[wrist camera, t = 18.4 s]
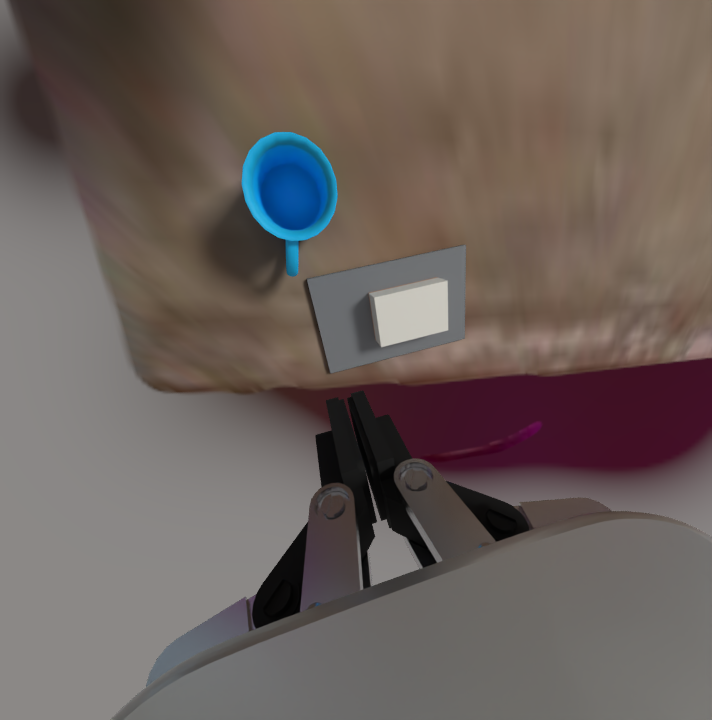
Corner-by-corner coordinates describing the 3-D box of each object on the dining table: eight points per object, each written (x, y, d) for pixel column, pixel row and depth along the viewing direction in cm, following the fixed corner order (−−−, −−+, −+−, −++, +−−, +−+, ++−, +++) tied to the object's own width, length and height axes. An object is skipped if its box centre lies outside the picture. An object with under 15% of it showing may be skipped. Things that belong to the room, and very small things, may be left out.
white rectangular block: (374, 297, 34) (447, 280, 35) (368, 292, 37) (436, 277, 38) (381, 347, 37) (448, 330, 38) (375, 339, 40) (438, 323, 41)
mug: (250, 149, 28) (237, 122, 21) (328, 161, 30) (340, 140, 23) (258, 269, 33) (249, 280, 26) (324, 273, 35) (333, 284, 28)
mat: (306, 278, 35) (307, 279, 34) (463, 244, 37) (465, 245, 37) (330, 371, 41) (330, 373, 41) (462, 337, 44) (464, 338, 43)
